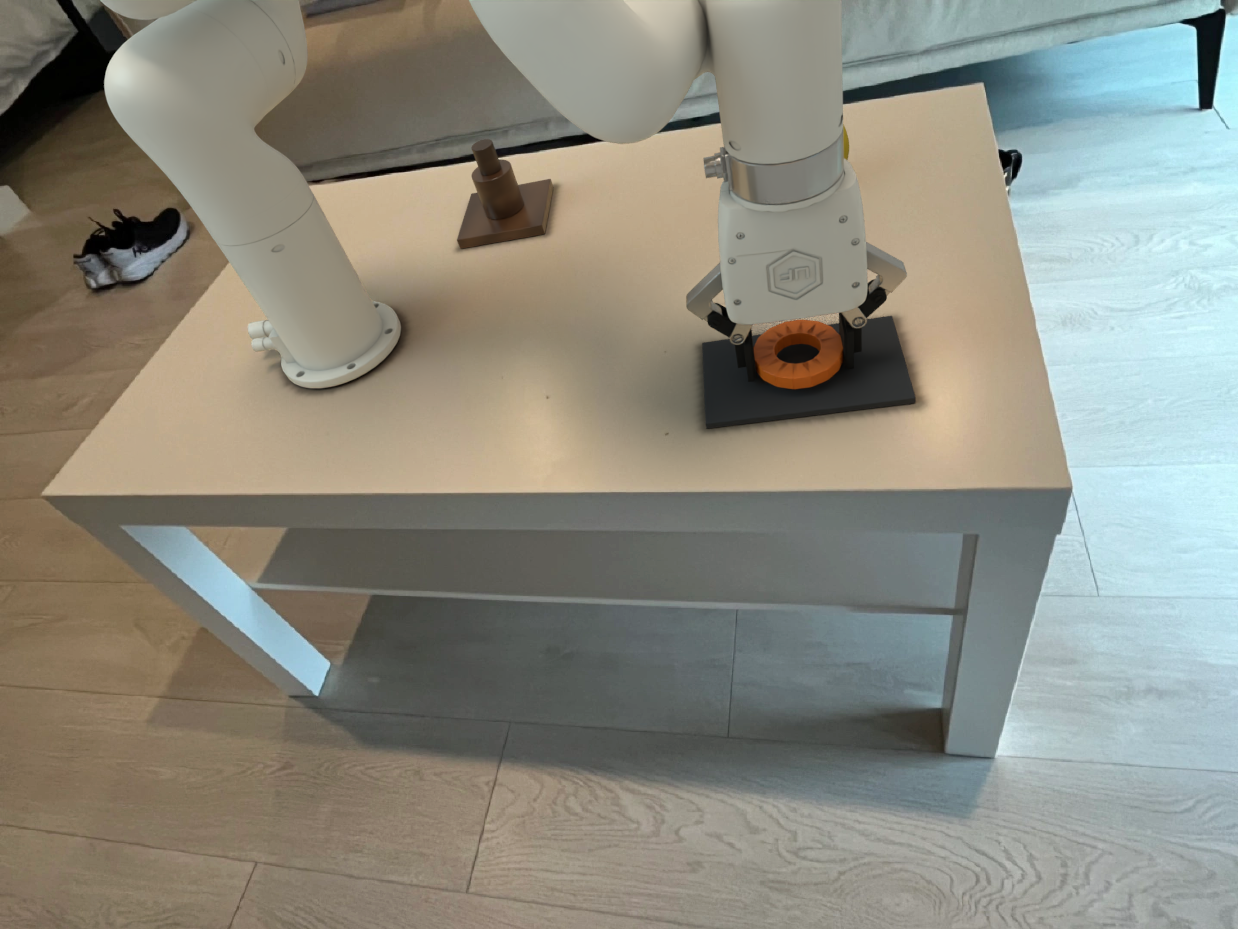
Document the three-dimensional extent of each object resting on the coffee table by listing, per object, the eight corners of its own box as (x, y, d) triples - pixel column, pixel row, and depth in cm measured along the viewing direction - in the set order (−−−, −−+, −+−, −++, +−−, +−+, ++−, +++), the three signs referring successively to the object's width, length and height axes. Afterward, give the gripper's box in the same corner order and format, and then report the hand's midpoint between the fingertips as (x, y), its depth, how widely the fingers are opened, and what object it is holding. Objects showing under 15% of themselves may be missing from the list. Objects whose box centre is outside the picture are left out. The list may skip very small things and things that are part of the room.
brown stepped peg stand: (460, 249, 92) (429, 176, 86) (474, 202, 99) (447, 131, 92) (544, 234, 90) (520, 158, 84) (553, 187, 97) (531, 114, 90)
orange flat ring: (757, 394, 64) (756, 383, 63) (751, 337, 69) (750, 326, 68) (849, 382, 63) (848, 371, 62) (836, 325, 68) (836, 313, 67)
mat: (706, 429, 65) (705, 423, 65) (703, 347, 72) (702, 342, 71) (915, 403, 62) (915, 397, 62) (891, 320, 69) (892, 315, 68)
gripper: (652, 214, 52) (693, 409, 65) (936, 166, 49) (919, 381, 62) (654, 156, 57) (691, 348, 70) (911, 109, 54) (901, 319, 67)
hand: (798, 362), depth 66 cm, fingers closed on orange flat ring, 7 cm apart
